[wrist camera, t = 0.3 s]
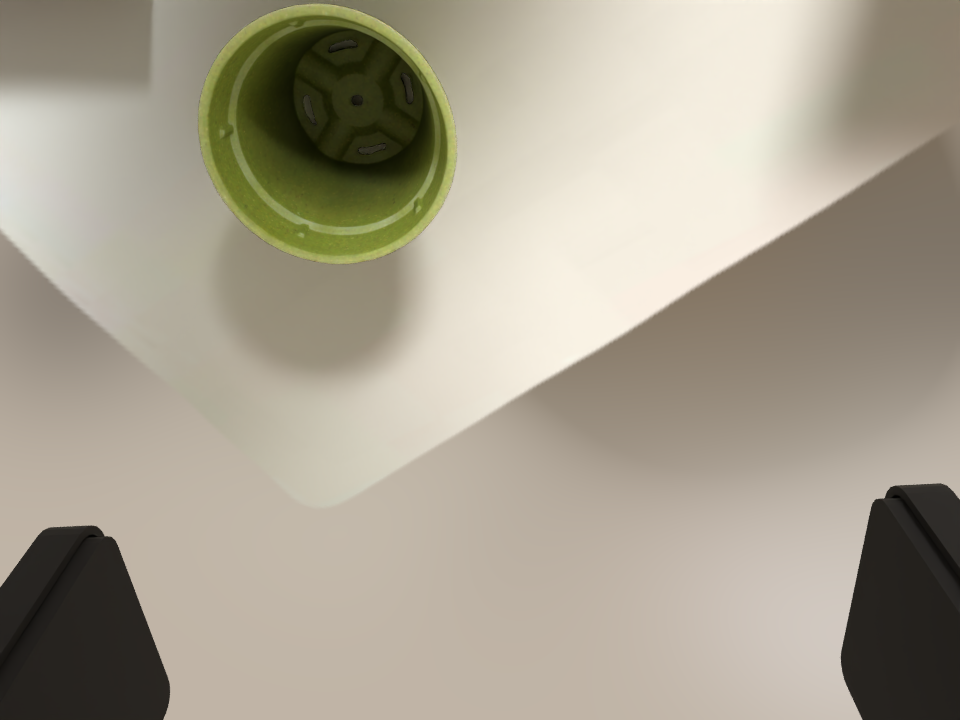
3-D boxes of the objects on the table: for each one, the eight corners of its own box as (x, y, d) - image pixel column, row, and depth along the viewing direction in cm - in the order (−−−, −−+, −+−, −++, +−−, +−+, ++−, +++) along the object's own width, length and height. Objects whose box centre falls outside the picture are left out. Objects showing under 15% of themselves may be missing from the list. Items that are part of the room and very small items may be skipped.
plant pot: (431, -42, 34) (414, -29, 27) (484, 171, 39) (483, 234, 31) (226, 16, 35) (153, 44, 28) (300, 217, 40) (256, 288, 32)
